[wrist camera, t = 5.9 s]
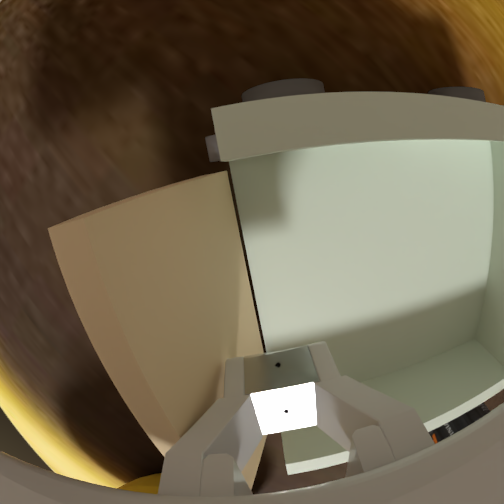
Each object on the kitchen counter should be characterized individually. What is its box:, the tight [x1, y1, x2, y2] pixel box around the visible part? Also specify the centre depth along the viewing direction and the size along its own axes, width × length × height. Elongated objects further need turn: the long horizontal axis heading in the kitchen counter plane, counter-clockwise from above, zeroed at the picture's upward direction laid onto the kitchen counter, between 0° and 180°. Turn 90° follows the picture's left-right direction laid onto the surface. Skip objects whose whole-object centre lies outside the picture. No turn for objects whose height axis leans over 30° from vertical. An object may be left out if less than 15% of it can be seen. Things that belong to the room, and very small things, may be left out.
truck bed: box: [205, 78, 504, 475], centre depth 10 cm, size 15×17×8 cm
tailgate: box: [48, 171, 267, 489], centre depth 8 cm, size 1×11×6 cm, turn 10°
